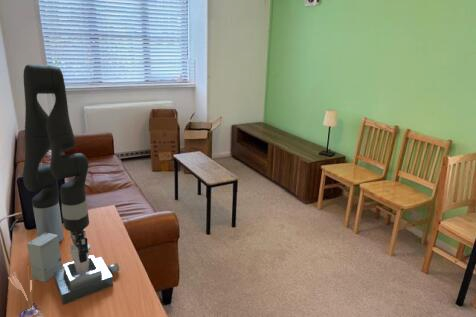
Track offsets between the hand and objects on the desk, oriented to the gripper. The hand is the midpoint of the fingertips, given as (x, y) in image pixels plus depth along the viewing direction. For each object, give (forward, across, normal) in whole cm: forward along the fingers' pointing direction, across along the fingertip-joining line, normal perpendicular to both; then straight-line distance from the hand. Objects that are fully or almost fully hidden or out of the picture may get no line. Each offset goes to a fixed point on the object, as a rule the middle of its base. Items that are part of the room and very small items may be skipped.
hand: (80, 256), depth 115 cm
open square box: (+12, 0, +2) cm, 12 cm away
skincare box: (+12, -12, -9) cm, 19 cm away
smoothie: (+6, 0, 0) cm, 6 cm away
